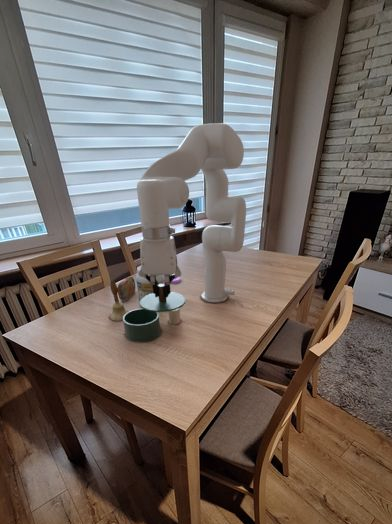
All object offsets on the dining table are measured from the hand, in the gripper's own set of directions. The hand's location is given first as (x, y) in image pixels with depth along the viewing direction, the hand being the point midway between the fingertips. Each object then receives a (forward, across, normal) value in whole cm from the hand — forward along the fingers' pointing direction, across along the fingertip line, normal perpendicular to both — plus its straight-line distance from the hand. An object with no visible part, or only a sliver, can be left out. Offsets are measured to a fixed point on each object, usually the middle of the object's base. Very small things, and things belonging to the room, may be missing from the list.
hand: (162, 295), depth 85 cm
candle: (+20, 0, -19) cm, 28 cm away
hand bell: (+20, +24, -23) cm, 39 cm away
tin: (+20, +26, -43) cm, 54 cm away
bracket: (+20, +9, -65) cm, 69 cm away
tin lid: (+2, 0, 0) cm, 2 cm away
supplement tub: (+20, +12, -35) cm, 42 cm away
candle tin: (+20, +11, -10) cm, 25 cm away
